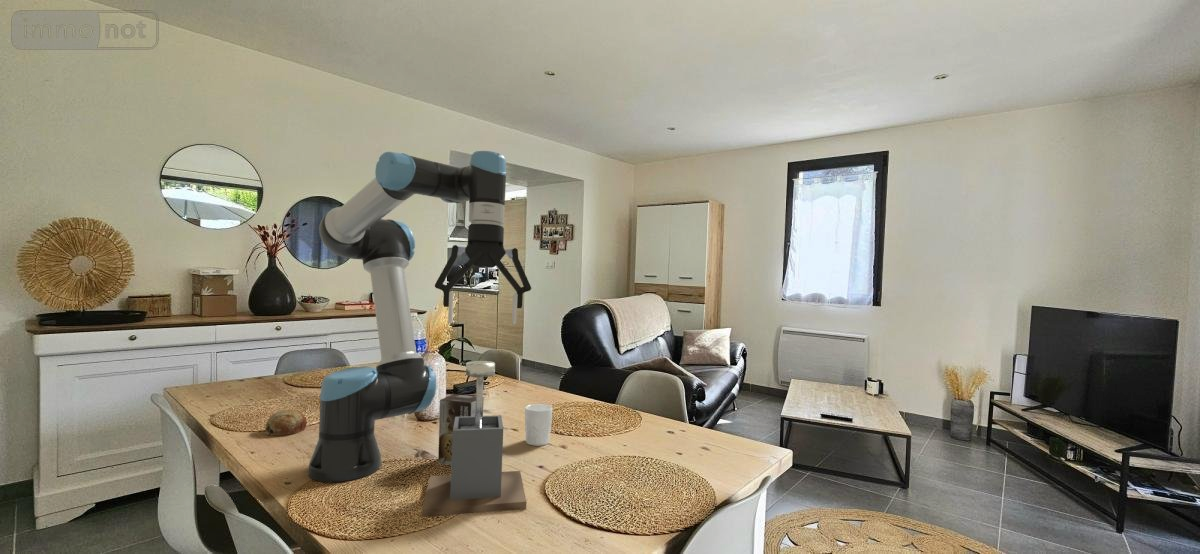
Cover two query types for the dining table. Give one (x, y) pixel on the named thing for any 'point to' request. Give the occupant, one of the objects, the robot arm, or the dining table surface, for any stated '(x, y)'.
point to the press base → (441, 505)
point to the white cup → (538, 424)
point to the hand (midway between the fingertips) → (482, 323)
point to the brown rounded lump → (286, 423)
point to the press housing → (476, 459)
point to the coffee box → (452, 422)
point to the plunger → (479, 388)
